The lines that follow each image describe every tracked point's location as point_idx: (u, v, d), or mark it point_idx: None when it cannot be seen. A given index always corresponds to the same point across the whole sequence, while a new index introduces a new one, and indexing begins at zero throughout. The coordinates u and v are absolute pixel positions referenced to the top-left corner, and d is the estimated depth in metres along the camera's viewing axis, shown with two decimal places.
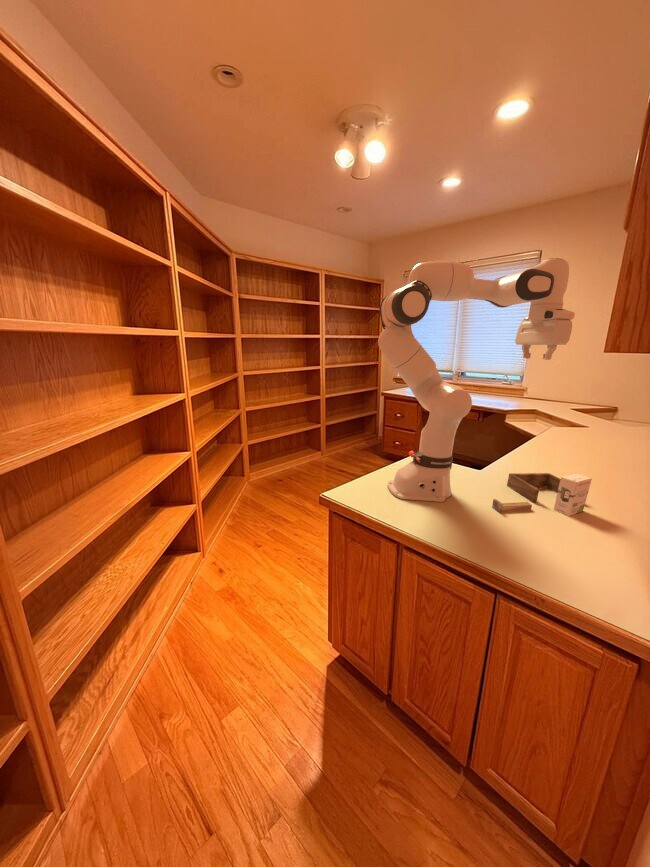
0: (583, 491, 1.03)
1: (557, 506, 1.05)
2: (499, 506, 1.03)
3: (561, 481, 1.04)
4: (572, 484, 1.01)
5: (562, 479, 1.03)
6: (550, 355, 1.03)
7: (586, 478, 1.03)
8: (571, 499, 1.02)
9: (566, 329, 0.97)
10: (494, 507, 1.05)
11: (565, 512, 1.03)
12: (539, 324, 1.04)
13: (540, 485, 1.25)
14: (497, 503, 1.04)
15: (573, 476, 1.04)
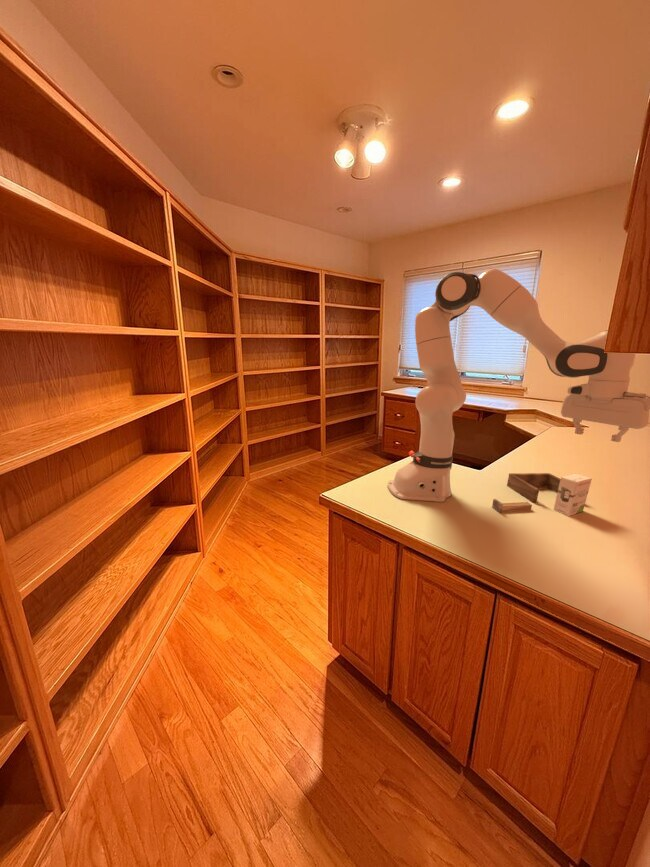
0: (583, 491, 1.03)
1: (557, 506, 1.05)
2: (499, 506, 1.03)
3: (561, 481, 1.04)
4: (572, 484, 1.01)
5: (562, 479, 1.03)
6: None
7: (586, 478, 1.03)
8: (571, 499, 1.02)
9: None
10: (494, 507, 1.05)
11: (565, 512, 1.03)
12: None
13: (540, 485, 1.25)
14: (497, 503, 1.04)
15: (573, 476, 1.04)
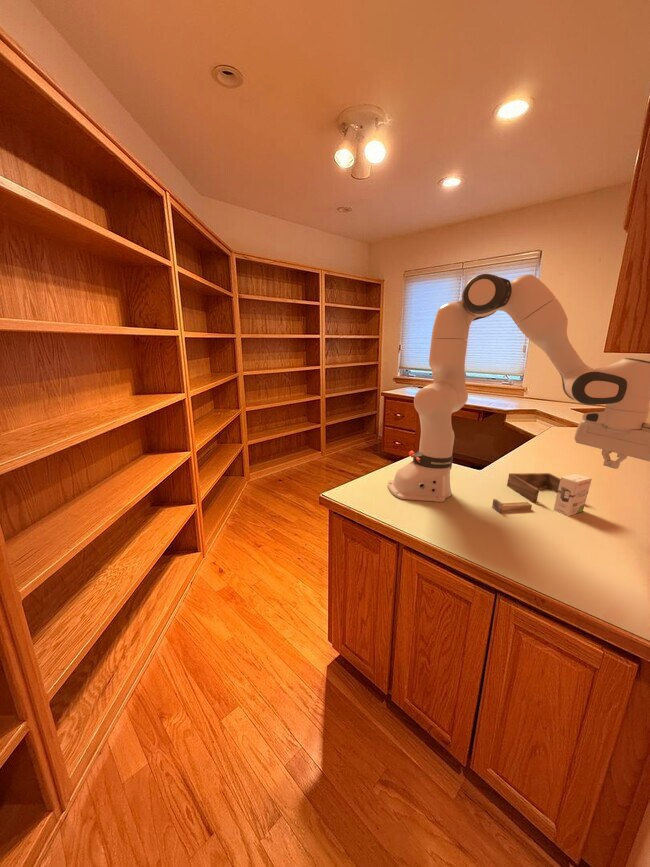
0: (583, 491, 1.03)
1: (557, 506, 1.05)
2: (499, 506, 1.03)
3: (561, 481, 1.04)
4: (572, 484, 1.01)
5: (562, 479, 1.03)
6: None
7: (586, 478, 1.03)
8: (571, 499, 1.02)
9: None
10: (494, 507, 1.05)
11: (565, 512, 1.03)
12: None
13: (540, 485, 1.25)
14: (497, 503, 1.04)
15: (573, 476, 1.04)
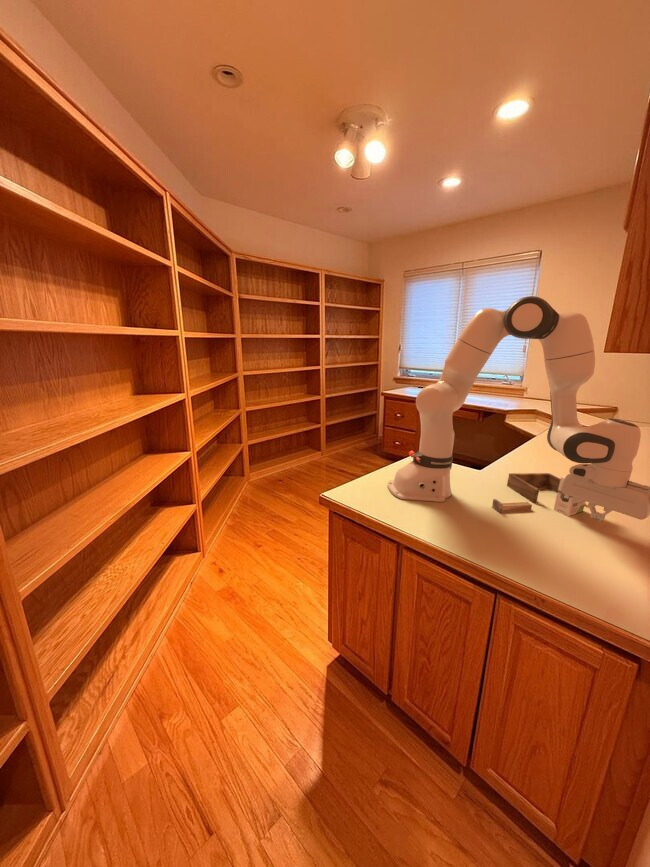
0: None
1: (557, 506, 1.05)
2: (499, 506, 1.03)
3: (561, 481, 1.04)
4: None
5: (562, 479, 1.03)
6: None
7: None
8: (571, 499, 1.02)
9: None
10: (494, 507, 1.05)
11: (565, 512, 1.03)
12: None
13: (540, 485, 1.25)
14: (497, 503, 1.04)
15: None
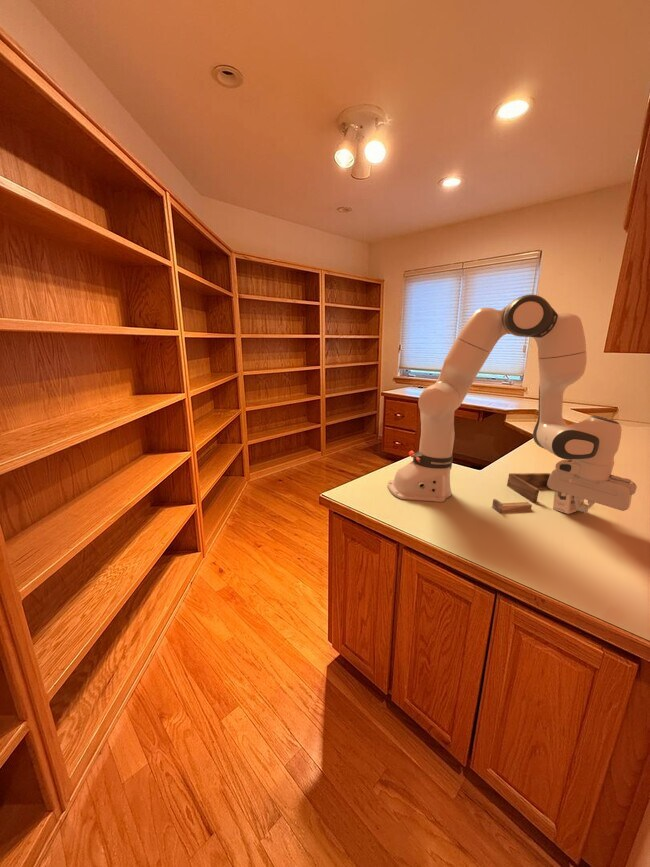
0: None
1: (556, 505, 1.06)
2: (499, 506, 1.03)
3: None
4: None
5: None
6: (576, 506, 1.02)
7: None
8: (568, 497, 1.02)
9: None
10: (494, 507, 1.05)
11: (564, 510, 1.04)
12: None
13: (540, 485, 1.25)
14: (497, 503, 1.04)
15: None
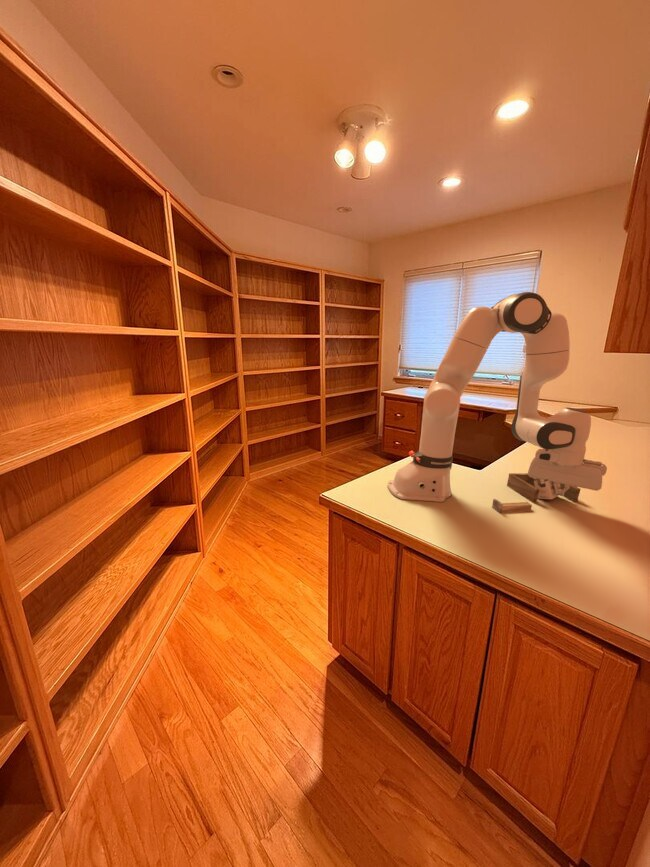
0: None
1: (538, 494, 1.14)
2: (499, 506, 1.03)
3: None
4: None
5: None
6: (556, 490, 1.11)
7: None
8: (547, 483, 1.11)
9: None
10: (494, 507, 1.05)
11: (547, 497, 1.11)
12: None
13: None
14: (497, 503, 1.04)
15: None
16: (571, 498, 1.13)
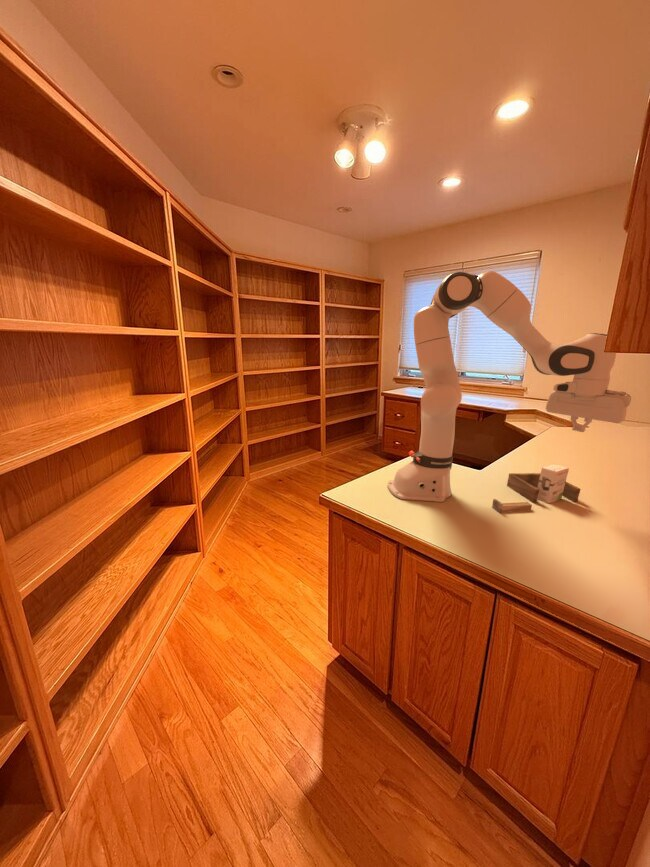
0: (561, 480, 1.11)
1: (538, 495, 1.13)
2: (499, 506, 1.03)
3: (542, 471, 1.12)
4: (552, 474, 1.09)
5: (543, 469, 1.11)
6: None
7: (564, 468, 1.11)
8: (551, 488, 1.10)
9: None
10: (494, 507, 1.05)
11: (546, 500, 1.11)
12: None
13: None
14: (497, 503, 1.04)
15: (552, 466, 1.13)
16: (571, 498, 1.13)
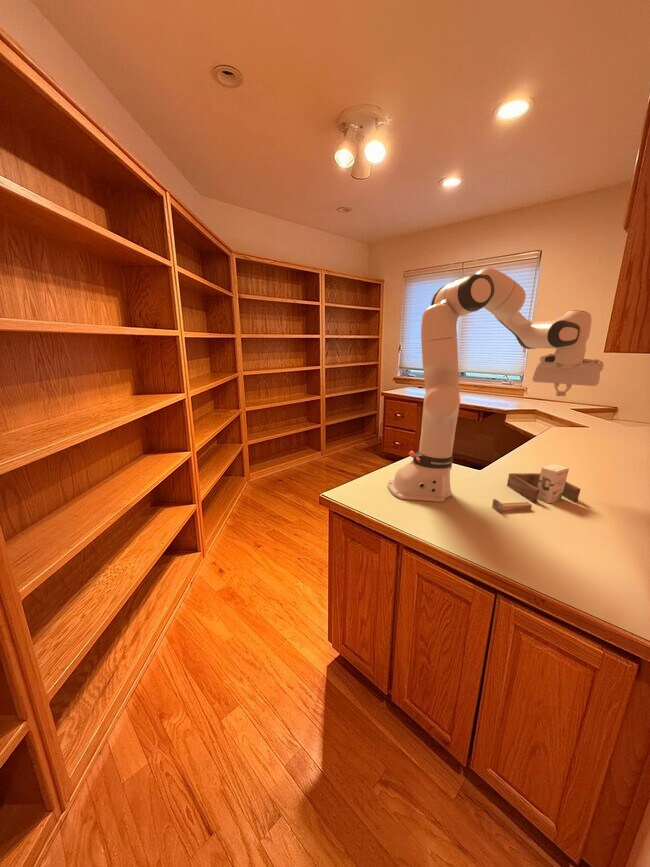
0: (561, 480, 1.11)
1: (538, 495, 1.13)
2: (499, 506, 1.03)
3: (542, 471, 1.12)
4: (552, 474, 1.09)
5: (543, 469, 1.11)
6: (556, 392, 1.22)
7: (564, 468, 1.11)
8: (551, 488, 1.10)
9: (534, 370, 1.24)
10: (494, 507, 1.05)
11: (546, 500, 1.11)
12: None
13: None
14: (497, 503, 1.04)
15: (552, 466, 1.13)
16: (571, 498, 1.13)
